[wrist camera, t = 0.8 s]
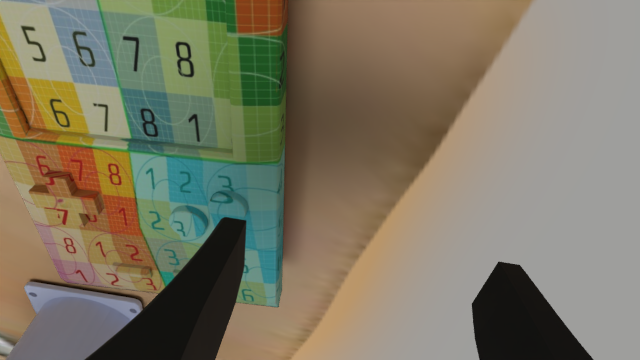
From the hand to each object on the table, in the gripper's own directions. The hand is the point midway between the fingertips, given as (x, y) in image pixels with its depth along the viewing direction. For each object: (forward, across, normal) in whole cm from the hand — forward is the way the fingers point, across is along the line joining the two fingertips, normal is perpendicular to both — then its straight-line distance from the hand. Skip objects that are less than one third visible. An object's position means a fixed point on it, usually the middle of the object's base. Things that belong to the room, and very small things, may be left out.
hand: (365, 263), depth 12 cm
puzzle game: (+9, +9, +1) cm, 13 cm away
